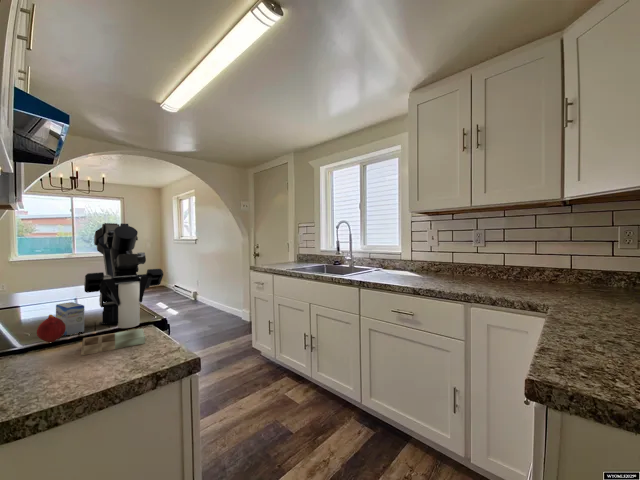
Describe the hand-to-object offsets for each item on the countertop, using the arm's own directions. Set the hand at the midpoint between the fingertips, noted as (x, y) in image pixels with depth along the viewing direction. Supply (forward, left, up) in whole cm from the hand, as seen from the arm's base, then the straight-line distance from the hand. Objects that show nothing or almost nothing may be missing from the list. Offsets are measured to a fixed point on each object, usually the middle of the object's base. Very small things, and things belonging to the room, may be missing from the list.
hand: (130, 303), depth 77 cm
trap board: (+2, -3, -11) cm, 12 cm away
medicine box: (-4, -25, -12) cm, 28 cm away
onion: (+4, -21, -12) cm, 25 cm away
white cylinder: (-1, -1, -7) cm, 7 cm away
